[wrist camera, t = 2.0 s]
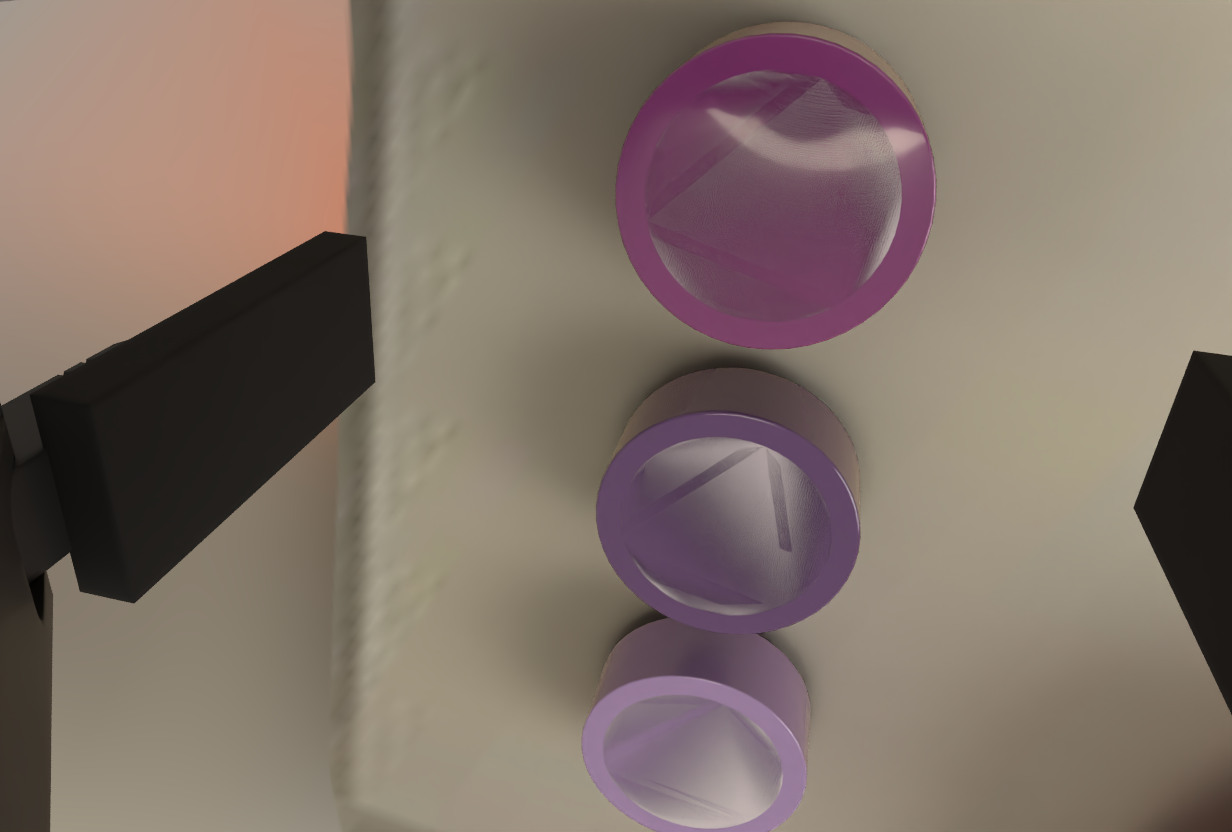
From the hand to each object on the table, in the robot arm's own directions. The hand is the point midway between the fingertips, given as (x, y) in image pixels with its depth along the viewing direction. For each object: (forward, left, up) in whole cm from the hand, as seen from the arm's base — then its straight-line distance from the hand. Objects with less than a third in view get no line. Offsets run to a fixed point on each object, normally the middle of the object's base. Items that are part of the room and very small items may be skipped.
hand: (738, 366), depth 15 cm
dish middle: (0, -10, -14) cm, 17 cm away
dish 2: (0, -20, -14) cm, 24 cm away
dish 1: (0, 0, -14) cm, 14 cm away
